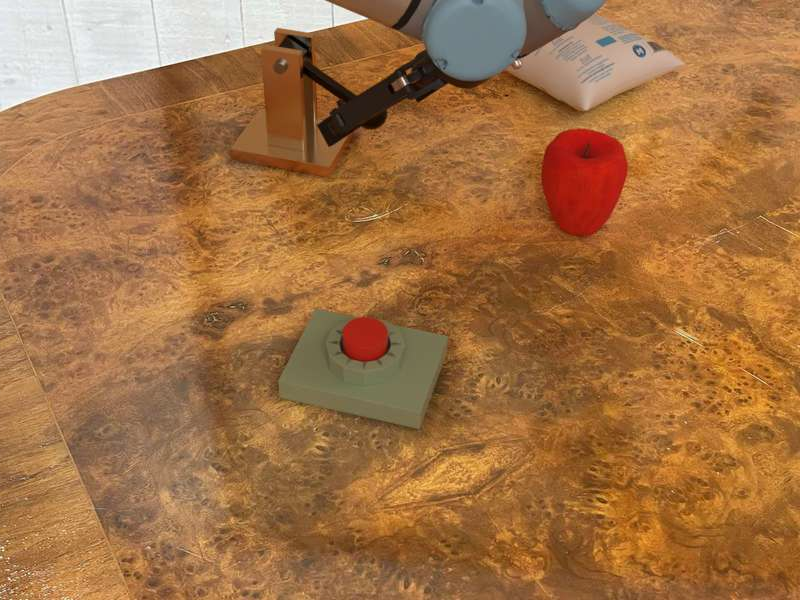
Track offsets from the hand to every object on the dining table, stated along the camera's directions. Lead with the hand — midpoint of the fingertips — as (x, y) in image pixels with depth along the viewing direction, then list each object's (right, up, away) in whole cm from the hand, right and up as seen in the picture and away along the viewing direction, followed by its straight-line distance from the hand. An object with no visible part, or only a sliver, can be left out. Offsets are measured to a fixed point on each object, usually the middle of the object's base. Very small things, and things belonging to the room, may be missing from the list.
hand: (370, 112), depth 120 cm
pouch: (+25, +7, +18) cm, 32 cm away
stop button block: (0, -28, -22) cm, 35 cm away
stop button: (0, -25, -24) cm, 35 cm away
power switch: (-9, -3, +6) cm, 11 cm away
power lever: (-5, +2, 0) cm, 5 cm away
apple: (+22, -13, -4) cm, 26 cm away
